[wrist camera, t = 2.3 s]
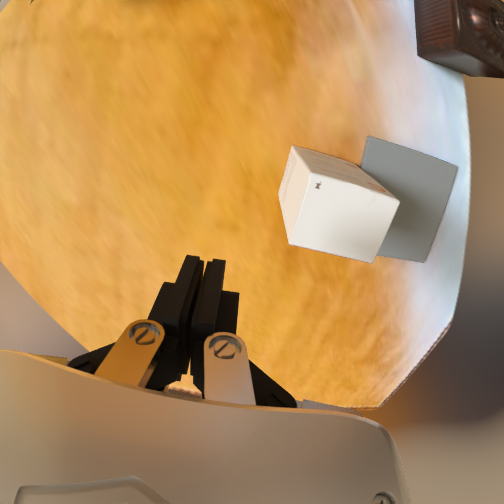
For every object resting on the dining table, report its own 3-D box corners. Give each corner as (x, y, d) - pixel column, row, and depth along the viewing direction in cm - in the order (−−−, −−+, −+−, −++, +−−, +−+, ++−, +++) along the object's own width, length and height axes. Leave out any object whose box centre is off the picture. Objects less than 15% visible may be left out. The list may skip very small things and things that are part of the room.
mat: (367, 135, 31) (369, 136, 30) (454, 165, 31) (457, 166, 31) (338, 246, 38) (339, 249, 37) (421, 259, 39) (423, 262, 38)
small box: (277, 194, 35) (286, 245, 23) (291, 143, 32) (310, 170, 20) (339, 210, 36) (373, 265, 24) (355, 163, 33) (402, 200, 21)
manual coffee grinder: (478, 80, 25) (577, 97, 9) (415, 56, 25) (518, 48, 9) (472, -10, 17) (556, -27, 2) (408, -39, 18) (484, -86, 2)
